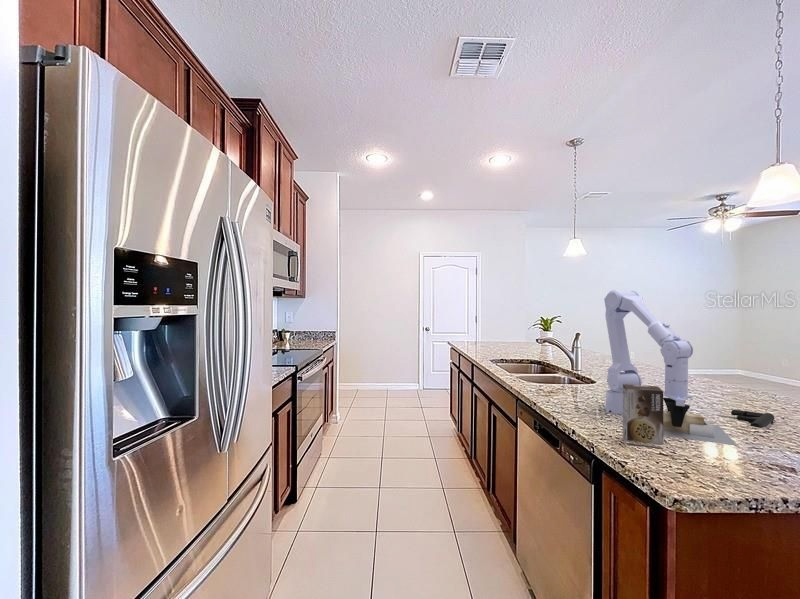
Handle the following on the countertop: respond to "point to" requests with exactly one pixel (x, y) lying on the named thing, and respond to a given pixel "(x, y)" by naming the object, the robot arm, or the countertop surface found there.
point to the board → (718, 436)
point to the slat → (687, 419)
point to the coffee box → (643, 414)
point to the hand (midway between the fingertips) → (675, 424)
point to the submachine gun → (753, 418)
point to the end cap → (701, 429)
